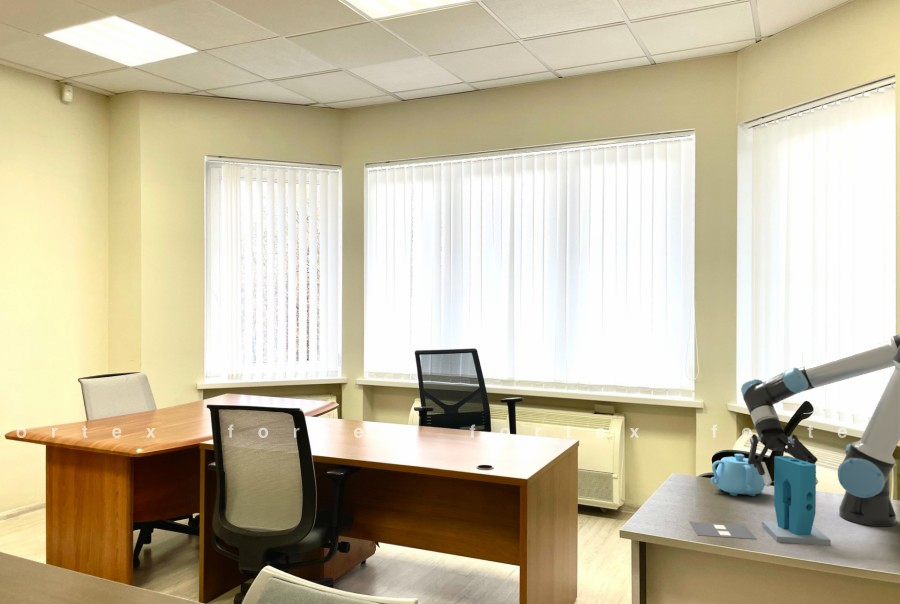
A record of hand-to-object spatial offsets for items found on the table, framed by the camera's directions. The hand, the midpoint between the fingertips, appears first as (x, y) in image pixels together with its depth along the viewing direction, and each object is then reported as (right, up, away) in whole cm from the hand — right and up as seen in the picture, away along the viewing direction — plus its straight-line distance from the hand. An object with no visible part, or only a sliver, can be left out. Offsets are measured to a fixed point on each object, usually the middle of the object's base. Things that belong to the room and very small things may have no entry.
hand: (792, 484), depth 194 cm
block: (0, -13, -2) cm, 13 cm away
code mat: (-20, -14, +1) cm, 24 cm away
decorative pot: (+3, -15, +43) cm, 46 cm away
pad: (0, -14, -2) cm, 14 cm away
